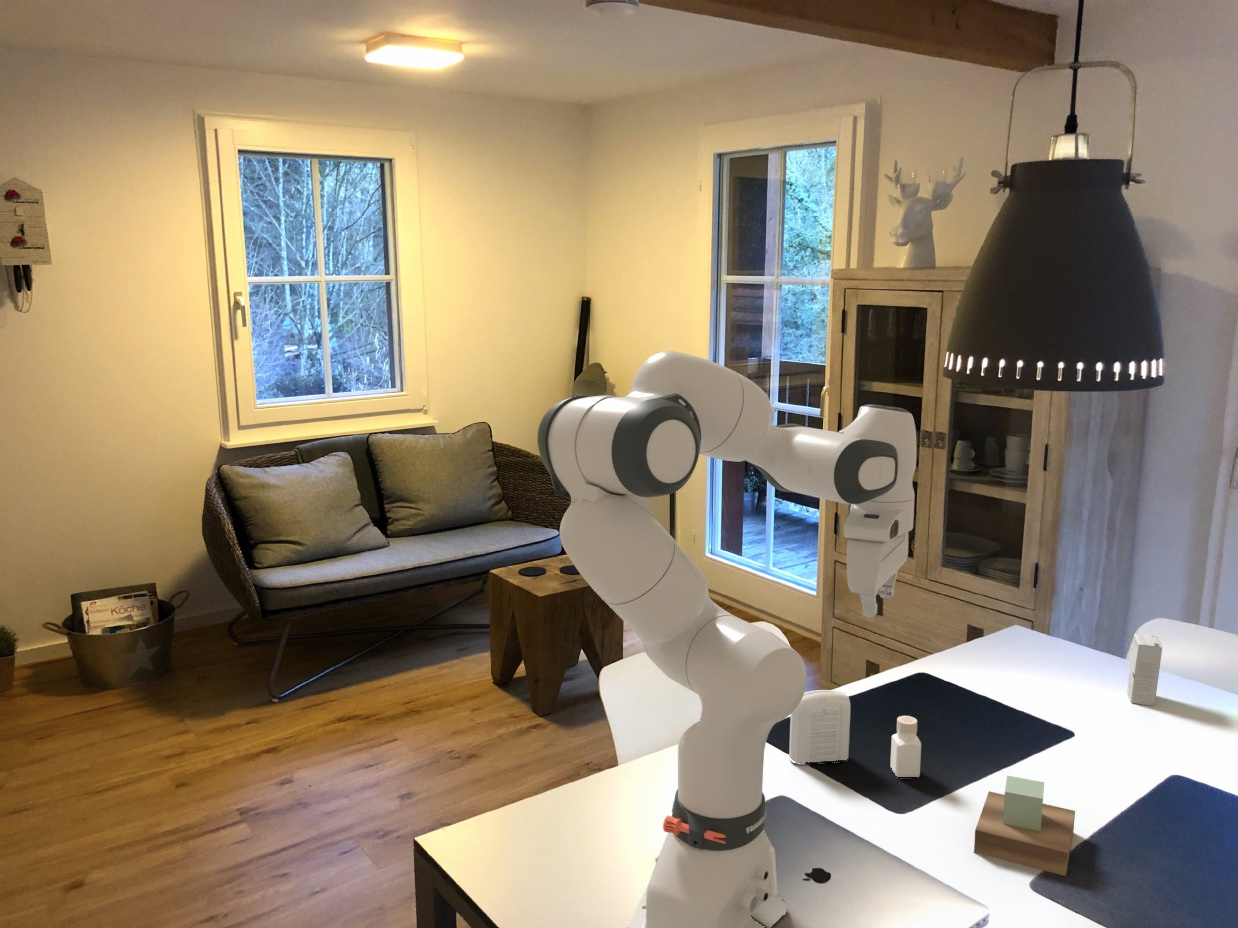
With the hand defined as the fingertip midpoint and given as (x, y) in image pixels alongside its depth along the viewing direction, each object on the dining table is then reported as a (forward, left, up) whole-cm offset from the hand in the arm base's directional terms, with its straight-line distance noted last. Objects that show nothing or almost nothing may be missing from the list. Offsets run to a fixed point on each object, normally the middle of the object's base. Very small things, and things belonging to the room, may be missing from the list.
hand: (878, 606), depth 146 cm
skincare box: (+64, -35, -33) cm, 80 cm away
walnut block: (+2, -22, -33) cm, 40 cm away
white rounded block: (+12, +12, -33) cm, 37 cm away
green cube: (+2, -21, -29) cm, 36 cm away
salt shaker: (+14, -2, -33) cm, 36 cm away
